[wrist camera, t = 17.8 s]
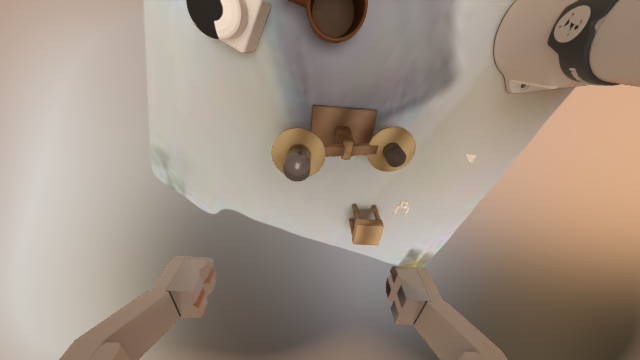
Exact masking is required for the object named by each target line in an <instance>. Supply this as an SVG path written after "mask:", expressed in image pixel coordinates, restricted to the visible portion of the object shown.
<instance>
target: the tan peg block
mask: <svg viewBox="0 0 640 360" xmlns="http://www.w3.org/2000/svg"><path fill="white" fill-rule="evenodd" d="M352 207H353V211H354V216H355V226H354V221H353V219H350V220H349V221H350V227H351V232H352V241H353V244H360V245H378V244H379V241H380V238H381V235H382V231H383V228H384V225H383V222H382V220H381V219H380V216H379V214H378V211H377V208H376V205H372V209H373V212H374V215H375V218H376V220H367V219H360V218H359V214H358V210H357V205H356V204H353V205H352Z"/></svg>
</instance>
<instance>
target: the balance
mask: <svg viewBox="0 0 640 360" xmlns="http://www.w3.org/2000/svg"><path fill="white" fill-rule="evenodd" d="M376 116H377V110H373V109H361V108H349V107H337V106H325V105H313V113H312V128H311V131H310V130H307V129H304V128H291V129H288V130H286V131H284V132H282V133H281V134H280V135H279V136H278V137H277V138H276V139H275V141H274V144H273V146H272V158H273V161H274V163H275V165H276V166H277V168H278V169H279V170H280V171H281V172H283V173H284V171H283V167H284V163H285V159H286V155H287V151H288V149H289V148H290V147H291V146H293V145H295V144H302V145H304V146H306V147H307V148H308V149H309V150H310V152H311V166H310V174H309V176H311V175H313V174H314V173H316V172H317V171H318V170H319V169H320V168H321V167H322V165H323V163H324V160H325V157H329V156H341V158H342V159H345V160H349V159H350V158H351V156H353V155H367V156H368V159H369V161H370V163H371V164H372V166H373V167H375V168H376V169H378V170H381V171H395V170H398V169H400V168H402V167H404V166H405V165H406V164H407V163H408V162H409V161H410V160H411V159H412V157H413V155H414V153H415V148H416V145H415V140H414V138H413V136H412V135H411V134H410V133H409V132H408V131H407V130H405V129H403V128H400V127H388V128H385V129H383V130H381V131H379V132H378V133H376V134H375V135H374V136H373V137H372V134H373V130H374V125H375V120H376Z"/></svg>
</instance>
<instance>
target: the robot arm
mask: <svg viewBox="0 0 640 360" xmlns="http://www.w3.org/2000/svg"><path fill="white" fill-rule="evenodd" d="M494 57H495V62H496V65H497V67H498V69H499V70H500V72H501V73H502V74H503V76H504V78H505V85H506V90H507V92H509V93H524V92H533V91H541V90H550V89H559V88H567V87H576V86H585V85H619V84H625V85H631V86H638V87H640V0H516V1H515V3H514V4H513V5H512V6H511V8H510V9H509V11H508V12H507V14H506V15H505V17H504V19H503V21H502V23H501V25H500V27H499V30H498V32H497V35H496V39H495V45H494ZM522 84H523V86H522V87H521V85H522ZM213 264H214V263H213V259H212V258H200V257H185V256H175V257H174V258H173V259H172V260H171V261H170V263H169V264H168V266H167V267H166V269H165V270H164V272H163V273H162V275H161V276H160V278H159V279H158V281H157V282H156V284H155V285H154V287H153V288H152V290H151V291H146V292H145V293H143V294H142V295H140V296H139V297H138V298H136V299H134V300H133V301H131V302H130V303H129V304H127V305H126V306H124V307H123V308H121V309H120V310H119V311H117V312H116V313H114V314H112V315H111V316H110V317H108V318H107V319H105V320H104V321H102V322H101V323H99V324H98V325H97V326H95V327H94V328H92V329H91V330H89V331H88V332H86V333H85V334H84V335H82V336H80V337H79V338H78V339H76V340H75V341H74V342H73V343H72V344H71V346H70V347H69V348H68V350H67V351H66V352H65V353H64V354H63V356H62V357H61V358H60V359H59V360H139V359H140V358H141V357H142V356H143V355H144V354H145V352H147V351H148V350H149V349H150V348H151V347H152V346H153V345H154V344H155V343H156V342H157V341H158V340H159V339H160V338H161V337H162V336H163V335H164V334H165V333H166V332H167V331H168V330H169V329H170V328H171V327H172V326H173V325H174V324H175V323H176V322H177V321H178V320H179V319H180V317H202V315H203V312H204V310H205V307H206V305H207V302H208V300H207V297H206V296H207V295H209V294H210V293H211V292H212V291H213V288H214V285H215V281H216V271H215V269H214V268H212V266H213ZM390 273H391V275H390V276H389V277H388V278H387V281H386V293H387V297H388V299H389V300H390V301H391V302H392V303H393V304H392V306H391V311H392V315H393V319H394V322H395V323H396V324H411V325H414V327H415V328H416V329H417V331H418V332H419V333H420V334H421V336H422V337H423V338H424V339H425V341H426V342H427V343H428V344H429V346H430V347H431V348H432V350H433V351H434V352H435V353H436V355H437V356H438V357H439V358H440V359H441V360H507V359H506V357H505V355H504V354H503V352H502V351H501V350H500V349H499V348H498V347H496V346H495V345H494V344H493V343H492V342H490V340H489V339H487V338H486V337H485V336H484V335H483V334H482V333H481V332H480V331H478V330H477V329H476V328H475V327H474V326H473V325H472V324H471V323H469V322H468V321H467V320H466V319H465V318H464V317H463V316H462V315H460V314H459V313H458V312H457V311H456V310H455V309H454V308H453V307H451V306H450V305H449V304H448V303H447V302H443V301H442V299H441V297H440V294H439V292H438V290H437V288H436V286H435V284H434V282H433V280H432V278H431V276H430V274H429V272H428V270H427V269H426V268H423V267H403V266H393V267H392V268H391V270H390Z"/></svg>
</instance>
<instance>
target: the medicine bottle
mask: <svg viewBox="0 0 640 360" xmlns="http://www.w3.org/2000/svg"><path fill="white" fill-rule="evenodd" d="M186 1H187V8H188V11H189V14H190V16H191V18H192V20H193V23H194V25H195V26H196V27H198V28H199V29H200V30H201V31H202V32H203V33H204V34H206V35H207V36H209V37H212V38H215V39H219V40H220V41H222V42H224V43H225V44H227V45H229V46H231V47H232V48H234V49H236V50H237V51H239V52H241V53H247V52H252V51H255V49H256V47H257V44H258V41H259V38H260V36H261V33H262V30H263V27H264V25H265V22H266V19H267V16H268V14H269V11H270V8H271V6H270V4H269V3H268V2H266V1H265V0H186Z"/></svg>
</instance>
